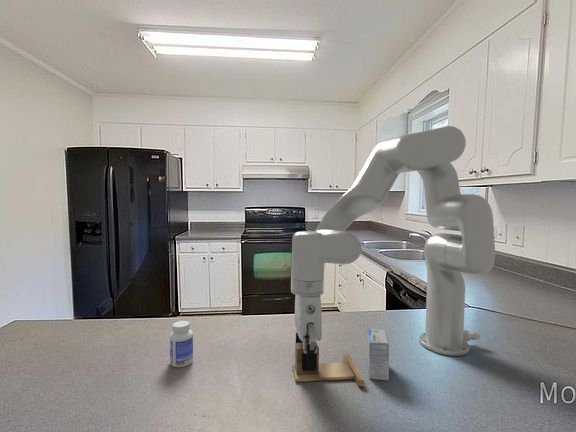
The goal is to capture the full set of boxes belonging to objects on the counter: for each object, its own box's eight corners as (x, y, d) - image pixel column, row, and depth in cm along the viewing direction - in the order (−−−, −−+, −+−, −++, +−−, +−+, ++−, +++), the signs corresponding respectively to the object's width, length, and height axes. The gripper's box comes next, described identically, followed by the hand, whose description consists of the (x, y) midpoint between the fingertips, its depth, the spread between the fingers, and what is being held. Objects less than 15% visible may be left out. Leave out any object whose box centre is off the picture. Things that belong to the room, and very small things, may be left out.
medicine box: (388, 381, 68) (390, 343, 68) (368, 379, 69) (369, 341, 69) (385, 363, 76) (385, 329, 75) (366, 361, 77) (367, 327, 76)
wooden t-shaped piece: (347, 358, 78) (348, 332, 78) (364, 386, 66) (364, 356, 66) (290, 360, 76) (291, 334, 76) (297, 390, 64) (297, 359, 64)
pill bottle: (197, 358, 77) (197, 321, 77) (183, 369, 72) (183, 329, 72) (179, 355, 79) (179, 318, 78) (165, 365, 74) (164, 326, 73)
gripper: (333, 296, 61) (330, 379, 62) (316, 276, 79) (314, 341, 79) (296, 297, 61) (293, 381, 61) (287, 276, 78) (285, 342, 79)
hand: (305, 358), depth 70 cm, fingers open, 9 cm apart
